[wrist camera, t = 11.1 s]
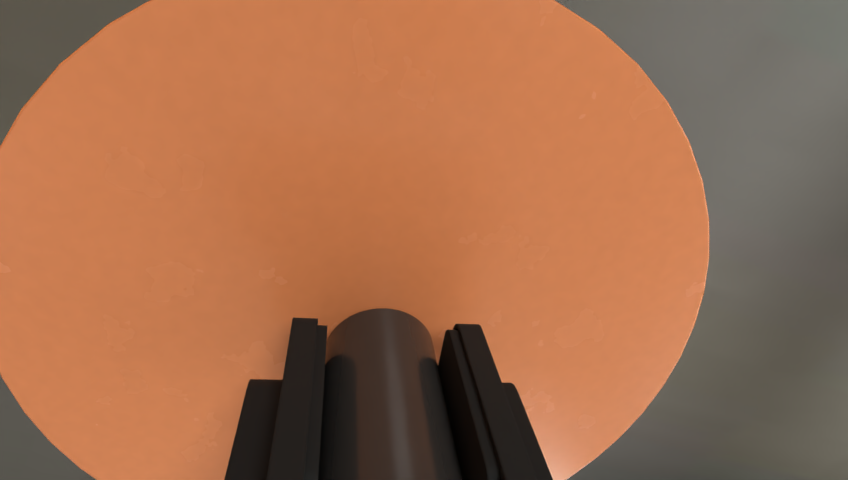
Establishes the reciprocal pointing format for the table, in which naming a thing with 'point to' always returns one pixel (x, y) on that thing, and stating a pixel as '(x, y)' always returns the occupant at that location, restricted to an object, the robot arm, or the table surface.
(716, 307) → the table surface
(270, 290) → the lid
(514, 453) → the robot arm
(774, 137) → the table surface
